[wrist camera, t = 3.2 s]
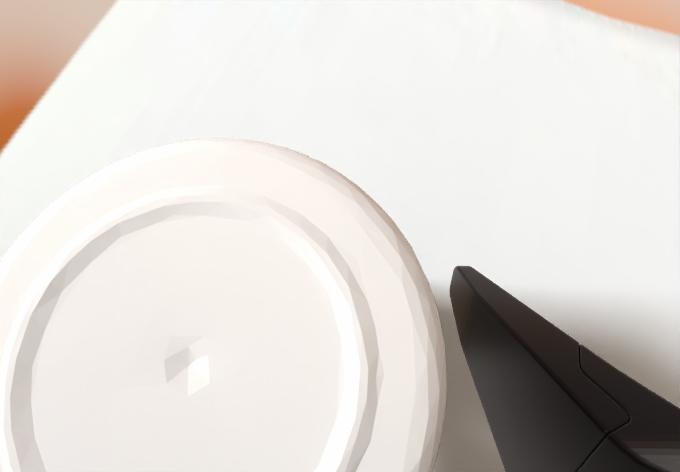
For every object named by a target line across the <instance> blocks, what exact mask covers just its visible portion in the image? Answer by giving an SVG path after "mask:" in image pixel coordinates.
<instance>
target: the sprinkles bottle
mask: <svg viewBox="0 0 680 472" xmlns="http://www.w3.org/2000/svg"><path fill="white" fill-rule="evenodd" d="M446 395H447V377H446V359H445V345H444V339H443V334H442V328H441V323H440V318H439V314H438V310H437V306H436V302H435V299H434V296H433V293H432V291H431V288H430V285H429V282H428V280H427V278H426V276H425V274H424V272H423V270H422V268H421V266H420V264H419V262H418V259H417V257H416V255H415V253H414V251H413V249H412V247H411V245H410V244H409V243H408V241H407V240H406V238H405V237H404V235H403V234H402V232H401V231H400V230H399V228H398V227H397V225H396V224H395V223H394V221H393V220H392V219H391V218H390V217H389V216H388V215H387V213H386V212H385V211H384V210H383V209H382V208H381V207H380V206H379V205H378V204H377V203H376V202H375V201H374V200H373V199H372V198H371V197H370V196H369V195H367V194H366V193H365V192H364V191H363V190H362V189H361V188H360V187H359V186H357V185H356V184H355V183H353V182H352V181H350V180H349V179H348V178H346V177H345V176H343V175H342V174H341V173H339V172H338V171H336V170H334V169H332V168H331V167H329V166H327V165H326V164H324V163H322V162H320V161H317V160H315V159H312V158H310V157H309V156H307V155H304V154H301V153H298V152H296V151H293V150H290V149H287V148H284V147H280V146H276V145H272V144H267V143H263V142H257V141H250V140H242V139H227V138H213V139H195V140H187V141H180V142H175V143H171V144H167V145H163V146H158V147H154V148H151V149H147V150H144V151H142V152H139V153H137V154H134V155H132V156H129V157H127V158H125V159H122V160H120V161H118V162H115V163H113V164H111V165H109V166H107V167H105V168H103V169H101V170H100V171H98V172H96V173H94V174H92V175H91V176H89V177H88V178H86V179H85V180H83V181H82V182H80V183H79V184H77V185H76V186H74V187H73V188H71V189H70V190H69V191H67V192H66V193H65V194H64V195H62V196H61V197H60V198H59V199H57V200H56V201H55V202H54V203H52V204H51V205H50V206H49V207H47V208H46V209H45V210H44V211H43V212H42V213H41V214H40V215H39V216H38V217H37V218H36V219H35V220H34V221H33V222H32V223H31V225H30V226H29V227H28V228H27V229H26V230H25V231H24V232H23V233H22V234H21V235H20V236H19V237H18V238H17V240H16V241H15V242H14V244H13V245H12V246H11V248H10V249H9V250H8V251H7V253H6V254H5V255H4V257H3V258H2V260H1V261H0V472H432V471H433V468H434V464H435V461H436V457H437V453H438V448H439V444H440V439H441V433H442V427H443V422H444V416H445V408H446Z"/></svg>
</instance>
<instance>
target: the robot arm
mask: <svg viewBox="0 0 680 472" xmlns="http://www.w3.org/2000/svg"><path fill="white" fill-rule="evenodd" d="M450 298H451V302H452V307H453V311H454V316H455V320H456V325H457V329H458V334H459V338H460V342H461V345H462V348H463V351H464V354H465V357H466V360H467V363H468V366H469V368H470V371H471V374H472V377H473V380H474V383H475V386H476V388H477V391H478V394H479V397H480V400H481V403H482V405H483V408H484V411H485V414H486V417H487V420H488V423H489V425H490V428H491V431H492V434H493V437H494V440H495V442H496V445H497V448H498V451H499V454H500V457H501V460H502V462H503V465H504V468H505V471H506V472H680V408H678V407H677V406H675V405H673V404H672V403H670V402H668V401H667V400H665V399H664V398H662V397H660V396H659V395H657V394H656V393H654V392H652V391H651V390H649V389H647V388H646V387H644V386H643V385H641V384H640V383H638V382H636V381H635V380H633V379H632V378H630V377H629V376H627V375H626V374H624V373H622V372H621V371H619V370H618V369H616V368H615V367H613V366H612V365H610V364H609V363H608V362H606V361H605V360H603V359H602V358H600V357H599V356H597V355H596V354H594V353H593V352H592V351H590V350H589V349H587V348H586V347H584V346H583V345H579V343H578V342H577V341H576V340H574V339H573V338H572V337H570V336H569V335H567V334H566V333H564V332H563V331H562V330H560V329H559V328H557V327H556V326H554V325H553V324H552V323H550V322H549V321H547V320H546V319H545V318H543V317H542V316H540V315H539V314H537V313H536V312H535V311H533V310H532V309H530V308H529V307H527V306H526V305H525V304H523V303H522V302H520V301H519V300H518V299H516V298H515V297H513V296H512V295H510V294H509V293H508V292H506V291H505V290H503V289H502V288H500V287H499V286H498V285H496V284H495V283H493V282H492V281H491V280H489V279H488V278H486V277H485V276H483V275H482V274H481V273H479V272H478V271H476V270H475V269H474V268H472V267H470V266H457V267H455V269H454V271H453V276H452V280H451V285H450Z"/></svg>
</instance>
